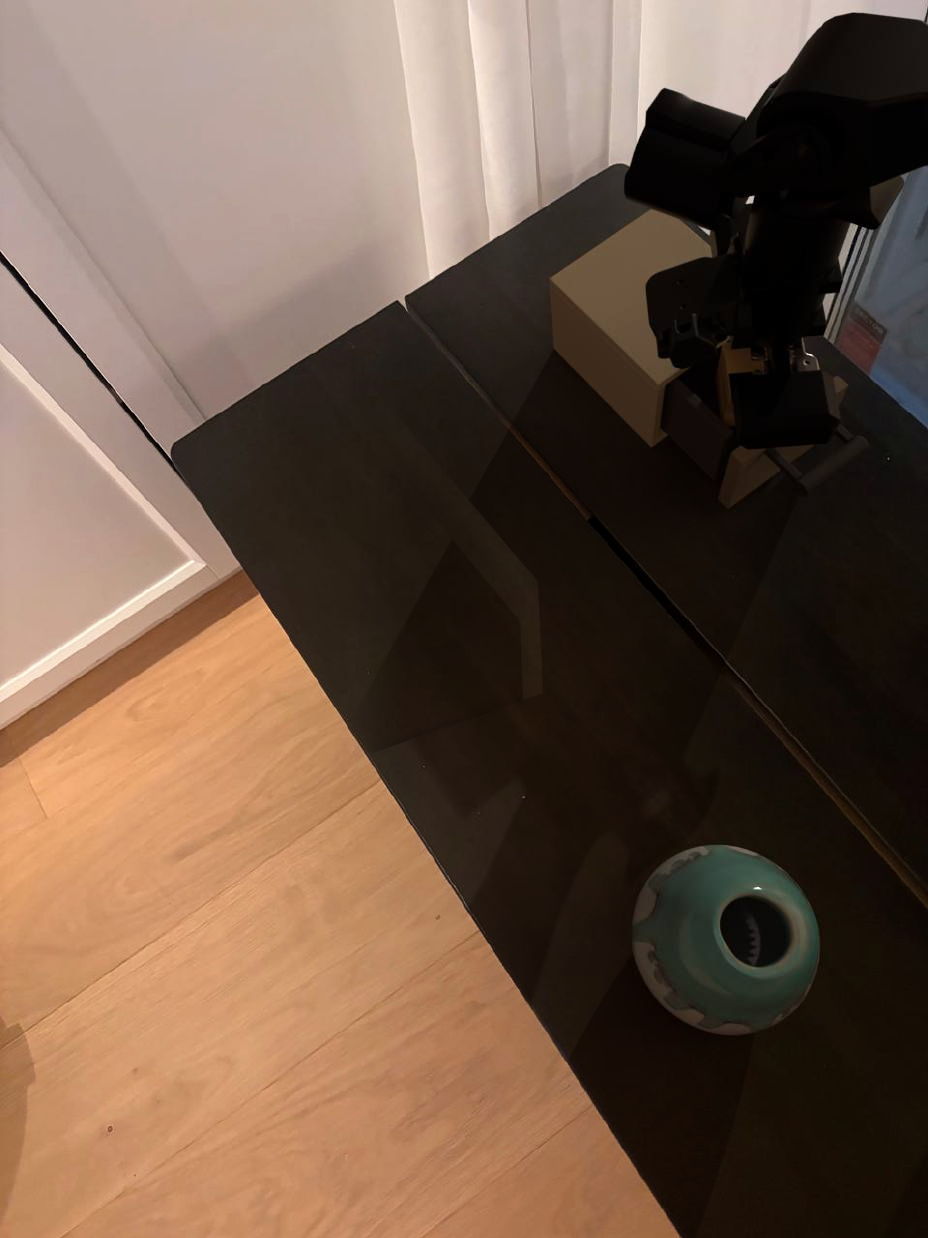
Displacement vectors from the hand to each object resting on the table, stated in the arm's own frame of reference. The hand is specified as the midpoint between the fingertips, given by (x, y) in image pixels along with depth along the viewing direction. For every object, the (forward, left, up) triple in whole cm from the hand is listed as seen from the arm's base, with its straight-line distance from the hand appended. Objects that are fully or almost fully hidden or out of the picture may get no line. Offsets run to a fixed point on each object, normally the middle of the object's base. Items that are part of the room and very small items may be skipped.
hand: (751, 391), depth 70 cm
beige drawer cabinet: (+6, -9, -7) cm, 13 cm away
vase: (+6, +39, -8) cm, 41 cm away
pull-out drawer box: (0, +1, -6) cm, 6 cm away
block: (0, 0, -1) cm, 1 cm away
